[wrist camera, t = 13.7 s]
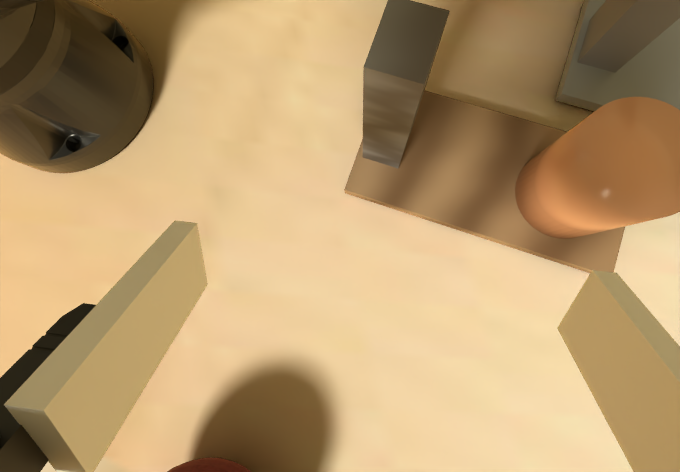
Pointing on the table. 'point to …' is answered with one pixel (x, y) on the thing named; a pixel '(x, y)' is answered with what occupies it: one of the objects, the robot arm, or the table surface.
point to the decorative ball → (210, 466)
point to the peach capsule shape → (605, 171)
